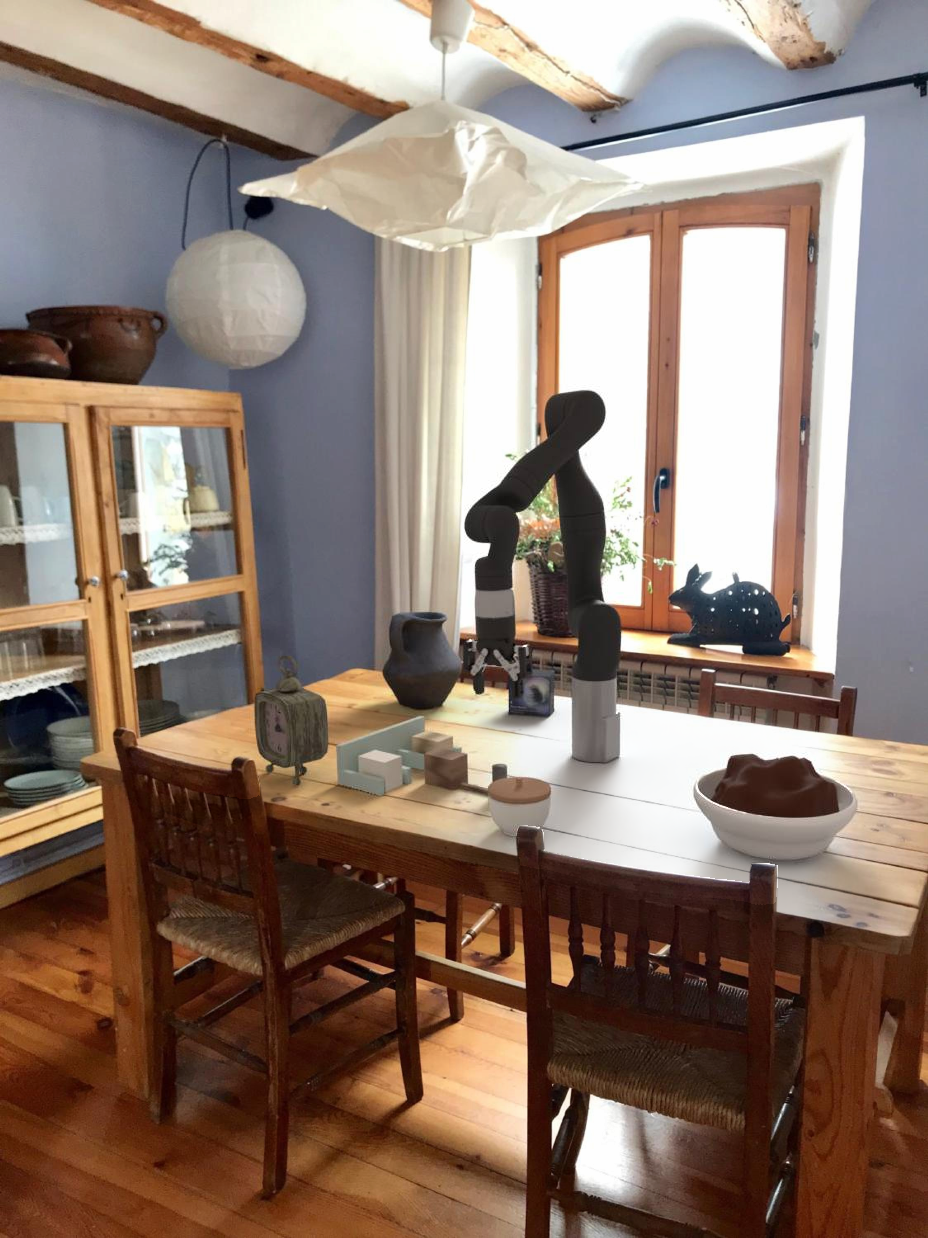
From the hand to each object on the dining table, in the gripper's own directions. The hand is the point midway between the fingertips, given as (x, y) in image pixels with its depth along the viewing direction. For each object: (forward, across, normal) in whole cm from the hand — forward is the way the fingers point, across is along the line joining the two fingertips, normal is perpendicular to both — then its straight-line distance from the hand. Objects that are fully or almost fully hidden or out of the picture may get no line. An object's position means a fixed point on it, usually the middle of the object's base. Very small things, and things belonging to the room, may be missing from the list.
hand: (498, 696), depth 182 cm
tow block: (+18, +5, +5) cm, 19 cm away
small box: (+19, +23, -48) cm, 56 cm away
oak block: (+18, +20, -4) cm, 27 cm away
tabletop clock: (+17, +38, +18) cm, 46 cm away
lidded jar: (+18, -15, +16) cm, 29 cm away
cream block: (+18, +20, +12) cm, 29 cm away
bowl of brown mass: (+19, -52, 0) cm, 56 cm away
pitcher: (+18, +50, -39) cm, 66 cm away
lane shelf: (+18, +21, +4) cm, 28 cm away
